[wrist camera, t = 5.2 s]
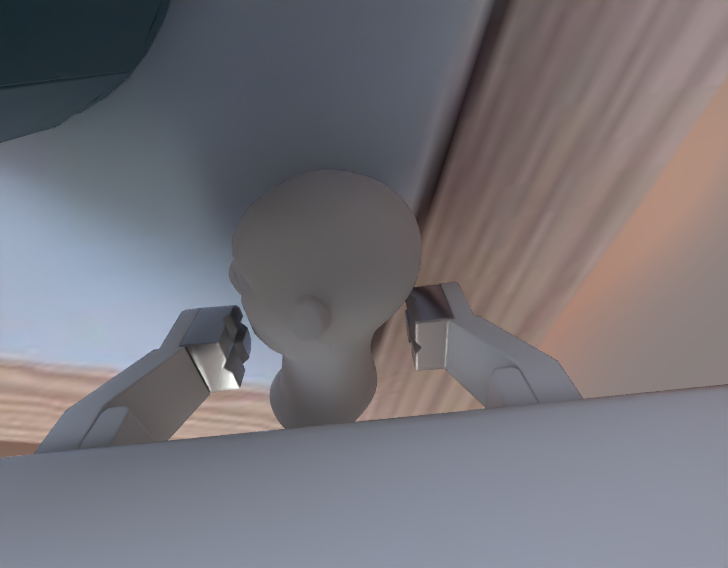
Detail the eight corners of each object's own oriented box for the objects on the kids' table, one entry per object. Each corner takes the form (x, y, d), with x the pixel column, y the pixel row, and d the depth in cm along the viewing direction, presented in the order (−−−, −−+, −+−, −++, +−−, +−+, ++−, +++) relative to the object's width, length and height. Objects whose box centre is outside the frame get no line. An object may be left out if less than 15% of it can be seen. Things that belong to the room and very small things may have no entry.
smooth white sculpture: (274, 130, 10) (447, 178, 9) (261, 335, 14) (379, 376, 14) (166, 156, 6) (437, 238, 6) (191, 422, 11) (349, 482, 10)
